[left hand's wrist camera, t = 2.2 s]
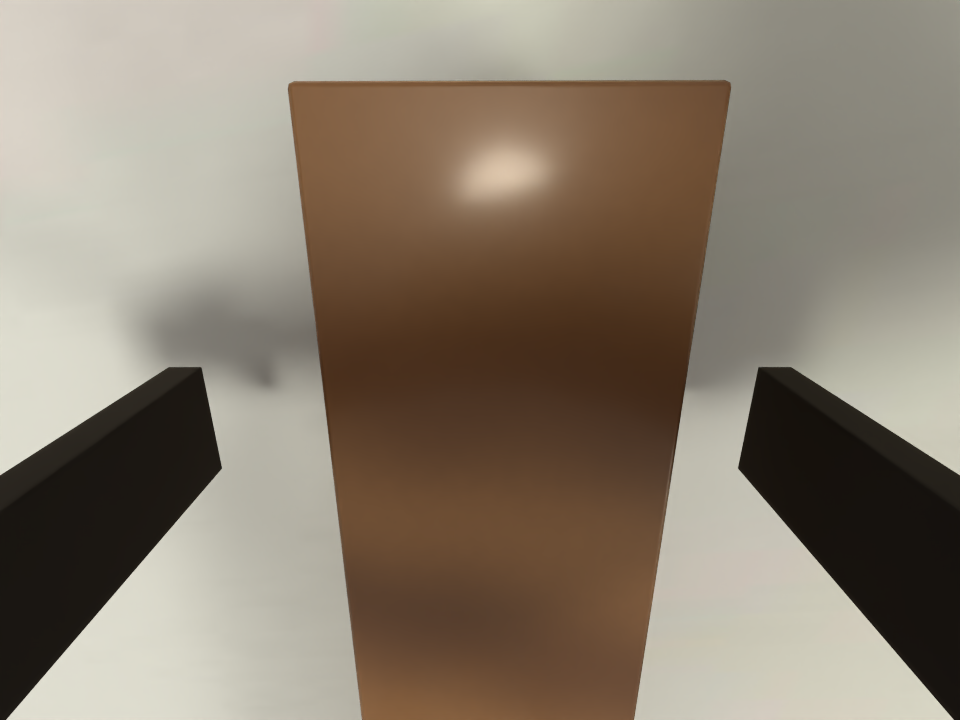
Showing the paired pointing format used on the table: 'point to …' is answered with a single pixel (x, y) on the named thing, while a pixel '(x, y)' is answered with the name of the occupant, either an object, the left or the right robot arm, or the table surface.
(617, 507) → the post
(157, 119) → the table surface
